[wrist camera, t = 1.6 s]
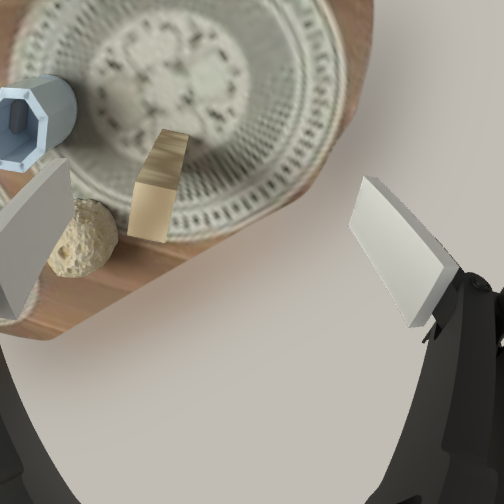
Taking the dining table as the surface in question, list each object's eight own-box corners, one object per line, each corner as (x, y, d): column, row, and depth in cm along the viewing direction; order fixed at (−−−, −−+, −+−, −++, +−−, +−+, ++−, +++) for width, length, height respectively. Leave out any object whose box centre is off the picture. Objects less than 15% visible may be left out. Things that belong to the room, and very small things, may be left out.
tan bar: (153, 166, 34) (126, 235, 23) (162, 129, 32) (135, 181, 21) (179, 171, 35) (164, 242, 24) (189, 135, 33) (177, 190, 22)
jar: (13, 142, 29) (-20, 167, 23) (19, 72, 24) (-18, 84, 18) (72, 152, 31) (45, 178, 25) (83, 78, 27) (54, 89, 21)
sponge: (66, 196, 39) (23, 253, 34) (86, 176, 32) (31, 245, 27) (111, 238, 44) (74, 295, 39) (140, 228, 37) (95, 297, 32)
